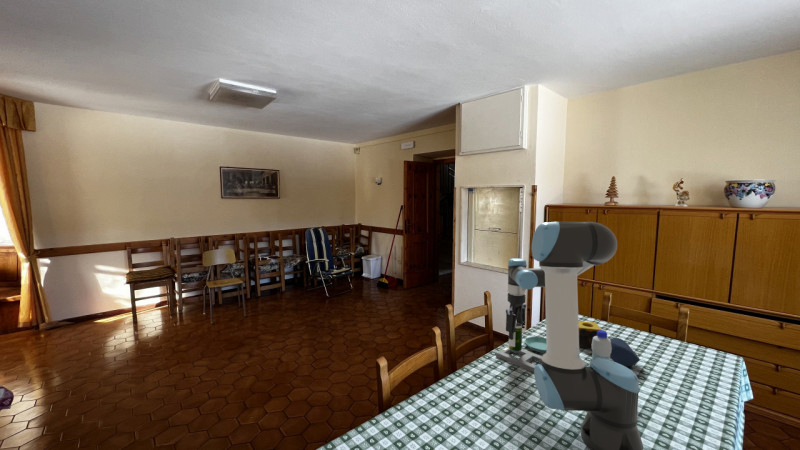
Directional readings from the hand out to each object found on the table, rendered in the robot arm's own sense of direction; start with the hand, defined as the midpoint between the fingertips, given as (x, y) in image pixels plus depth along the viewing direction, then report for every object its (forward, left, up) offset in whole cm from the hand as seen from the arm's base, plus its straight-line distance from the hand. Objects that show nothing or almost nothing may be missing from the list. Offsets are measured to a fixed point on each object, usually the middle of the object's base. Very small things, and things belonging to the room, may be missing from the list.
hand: (515, 343), depth 142 cm
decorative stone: (+29, -34, -7) cm, 45 cm away
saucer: (+18, -4, -7) cm, 20 cm away
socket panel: (0, -5, -6) cm, 8 cm away
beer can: (0, 0, -3) cm, 3 cm away
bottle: (+8, -32, -7) cm, 33 cm away
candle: (+38, -17, -7) cm, 42 cm away
